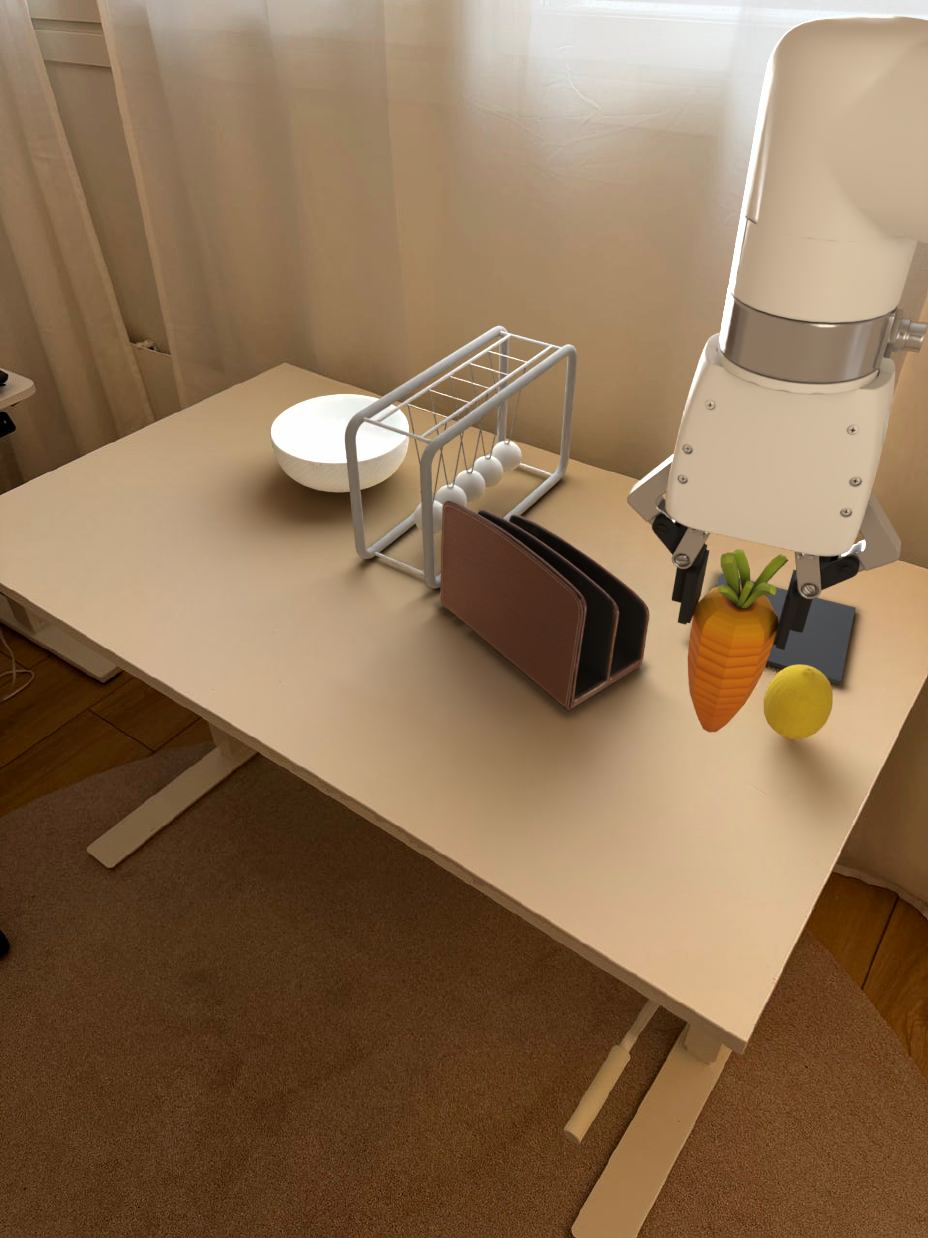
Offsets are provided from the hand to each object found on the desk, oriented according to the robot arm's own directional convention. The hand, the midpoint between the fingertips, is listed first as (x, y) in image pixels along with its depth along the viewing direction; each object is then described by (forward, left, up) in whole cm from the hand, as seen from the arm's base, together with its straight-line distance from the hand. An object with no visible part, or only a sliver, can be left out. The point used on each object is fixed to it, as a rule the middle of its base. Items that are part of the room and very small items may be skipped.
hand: (735, 620), depth 54 cm
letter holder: (+19, -20, -25) cm, 38 cm away
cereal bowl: (+52, -39, -25) cm, 70 cm away
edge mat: (-3, -32, -25) cm, 40 cm away
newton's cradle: (+34, -37, -25) cm, 56 cm away
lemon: (-6, -17, -25) cm, 31 cm away
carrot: (0, 0, -10) cm, 10 cm away
